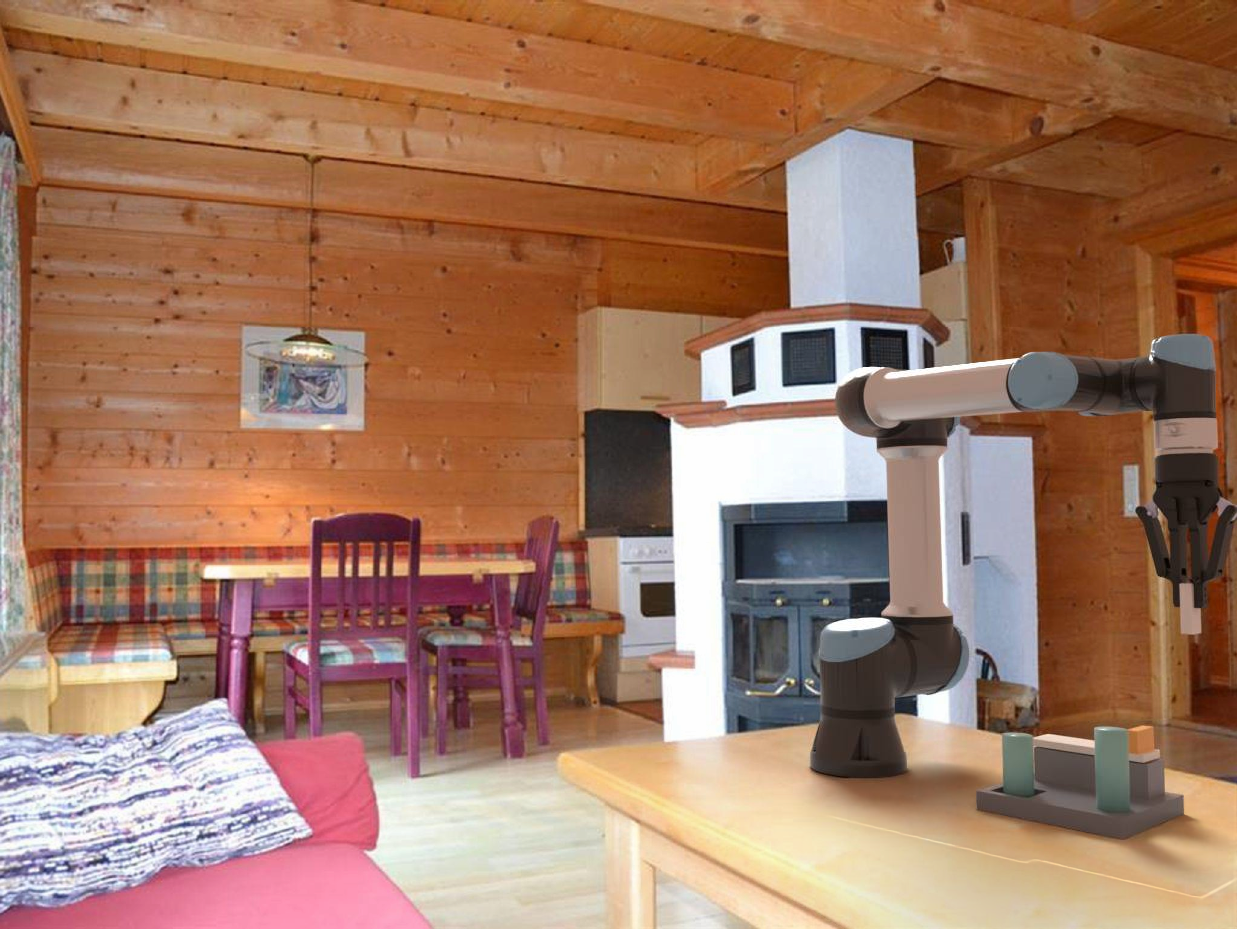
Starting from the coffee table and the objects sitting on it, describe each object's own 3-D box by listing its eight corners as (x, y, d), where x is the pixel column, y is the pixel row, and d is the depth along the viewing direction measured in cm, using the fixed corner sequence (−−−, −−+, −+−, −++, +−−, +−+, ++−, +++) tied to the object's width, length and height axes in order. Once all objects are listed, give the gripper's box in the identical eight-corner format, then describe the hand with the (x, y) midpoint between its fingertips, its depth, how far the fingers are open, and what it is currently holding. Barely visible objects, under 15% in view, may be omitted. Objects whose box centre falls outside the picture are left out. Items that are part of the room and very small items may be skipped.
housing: (976, 809, 155) (974, 716, 156) (1042, 788, 167) (1040, 702, 168) (1122, 839, 140) (1120, 736, 141) (1184, 813, 152) (1181, 719, 153)
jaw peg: (1013, 804, 158) (1011, 731, 158) (1040, 809, 155) (1038, 735, 155) (997, 809, 155) (996, 735, 155) (1025, 815, 152) (1023, 739, 152)
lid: (1030, 745, 162) (1029, 717, 162) (1047, 740, 166) (1047, 712, 166) (1143, 762, 150) (1142, 732, 151) (1160, 757, 154) (1159, 727, 154)
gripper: (1123, 454, 152) (1128, 631, 151) (1227, 449, 143) (1233, 639, 141) (1148, 456, 157) (1153, 628, 156) (1250, 451, 148) (1256, 634, 146)
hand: (1191, 633), depth 149 cm, fingers closed
